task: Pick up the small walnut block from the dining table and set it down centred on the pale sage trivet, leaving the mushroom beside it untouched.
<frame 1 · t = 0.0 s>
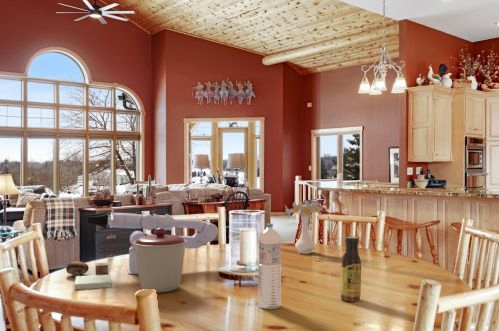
hand: (87, 218, 186), 22 cm above the table, fingers open, 7 cm apart
mushroom: (77, 276, 185), on the table
sage trivet: (93, 284, 173), on the table
sauce bottle: (350, 300, 153), on the table
walnut block: (101, 277, 183), on the table
water bottle: (269, 307, 146), on the table
canister: (160, 289, 166), on the table
flower vase: (303, 253, 232), on the table
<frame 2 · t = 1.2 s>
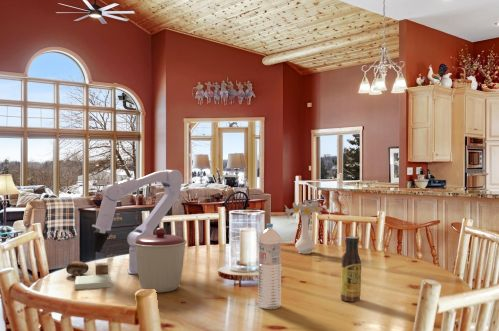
hand: (96, 250, 183), 10 cm above the table, fingers open, 7 cm apart
nothing on the table moved.
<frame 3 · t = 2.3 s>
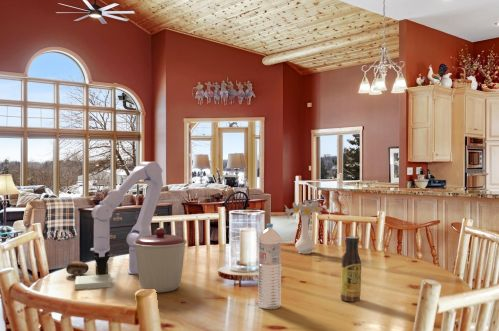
hand: (101, 272, 183), 2 cm above the table, fingers open, 7 cm apart
nothing on the table moved.
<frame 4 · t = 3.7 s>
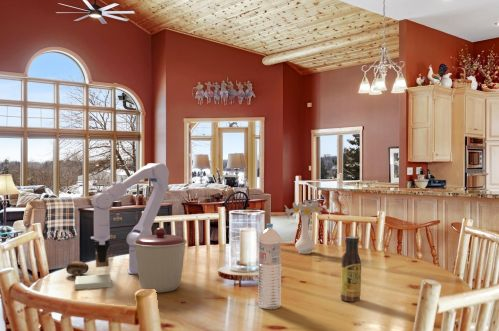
hand: (102, 260, 183), 6 cm above the table, fingers closed on walnut block, 4 cm apart
walnut block: (102, 265, 183), point 4 cm above the table, touching gripper
everything else where it was.
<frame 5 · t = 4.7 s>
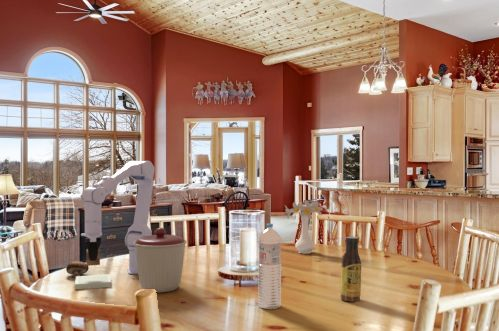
hand: (93, 259, 172), 9 cm above the table, fingers closed on walnut block, 4 cm apart
walnut block: (93, 264, 172), point 7 cm above the table, touching gripper
everything else where it was.
when the fingers open (4 cm above the table, at t = 5.9 s): walnut block stays where it is, resting on sage trivet.
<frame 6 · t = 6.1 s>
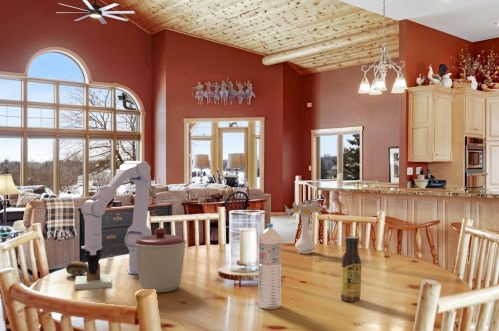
hand: (93, 271, 172), 4 cm above the table, fingers open, 6 cm apart
walnut block: (93, 278, 173), point 2 cm above the table, touching sage trivet
everything else where it was.
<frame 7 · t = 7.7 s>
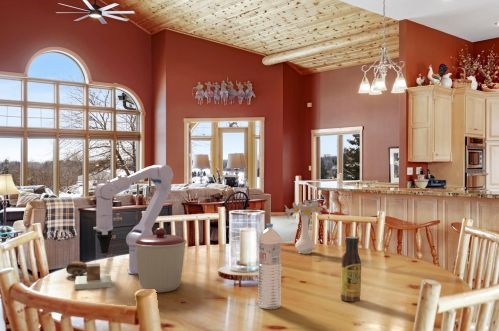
hand: (104, 251, 182), 10 cm above the table, fingers open, 7 cm apart
nothing on the table moved.
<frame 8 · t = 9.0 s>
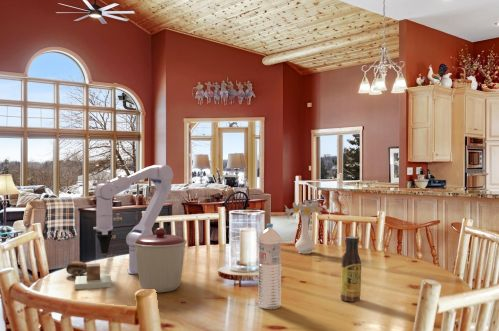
hand: (104, 251, 182), 10 cm above the table, fingers open, 7 cm apart
nothing on the table moved.
at the end: walnut block inside the target area on the sage trivet (0.0 cm from its centre), point 1.8 cm above the sage trivet's base; walnut block tilted 0°; the gripper is holding nothing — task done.
